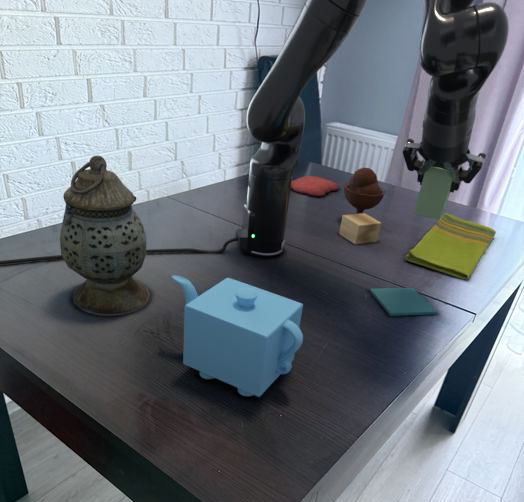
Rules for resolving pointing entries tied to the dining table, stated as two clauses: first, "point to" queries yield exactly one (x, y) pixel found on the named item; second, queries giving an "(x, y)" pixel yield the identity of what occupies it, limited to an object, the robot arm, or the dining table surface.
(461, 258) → the dish towel
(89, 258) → the lantern
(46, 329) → the dining table surface
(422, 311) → the mat
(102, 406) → the dining table surface
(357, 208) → the ice cream bowl
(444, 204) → the green block
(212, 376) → the teapot
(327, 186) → the patty
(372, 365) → the dining table surface
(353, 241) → the birch block
